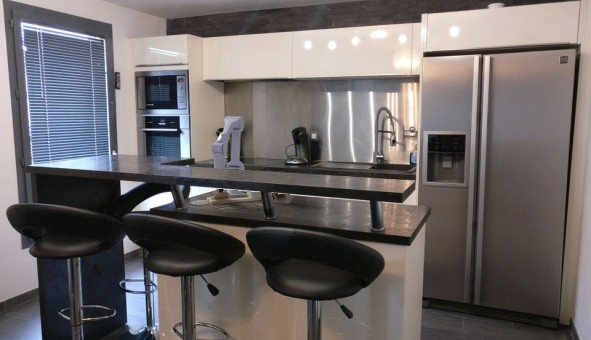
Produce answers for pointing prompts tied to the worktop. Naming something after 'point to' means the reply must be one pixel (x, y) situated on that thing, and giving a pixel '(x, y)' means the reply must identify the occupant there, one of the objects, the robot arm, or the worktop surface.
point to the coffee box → (281, 195)
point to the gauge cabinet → (253, 194)
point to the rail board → (232, 199)
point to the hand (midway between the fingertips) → (220, 191)
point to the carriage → (220, 195)
